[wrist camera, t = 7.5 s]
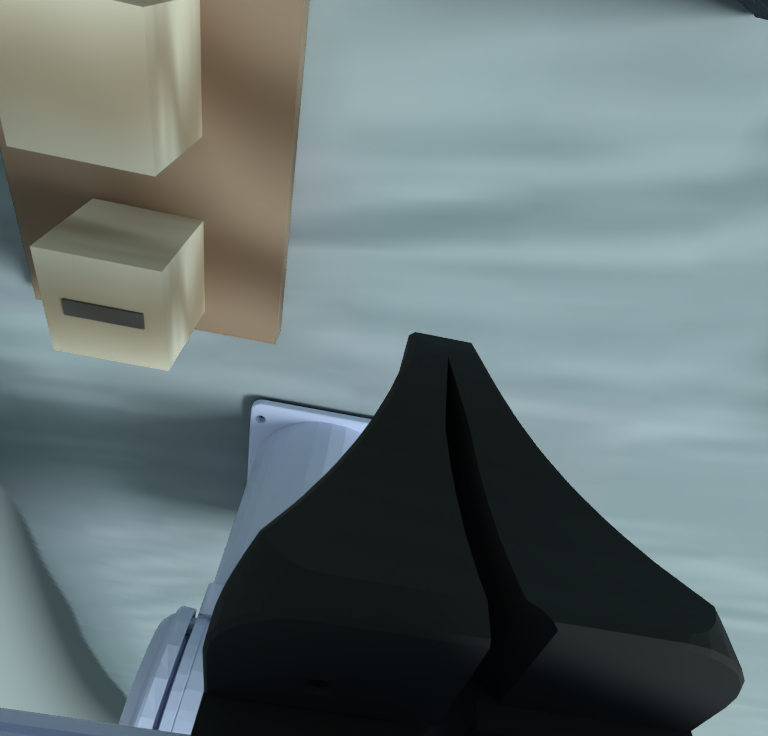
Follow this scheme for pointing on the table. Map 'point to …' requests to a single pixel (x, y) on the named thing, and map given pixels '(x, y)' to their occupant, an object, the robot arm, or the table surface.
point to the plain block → (102, 80)
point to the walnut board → (208, 167)
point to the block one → (122, 283)
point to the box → (757, 7)
